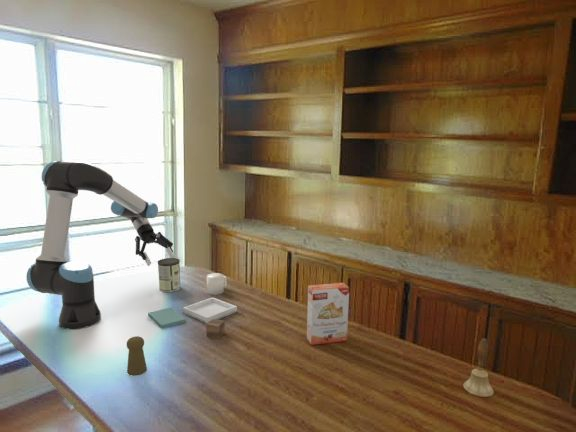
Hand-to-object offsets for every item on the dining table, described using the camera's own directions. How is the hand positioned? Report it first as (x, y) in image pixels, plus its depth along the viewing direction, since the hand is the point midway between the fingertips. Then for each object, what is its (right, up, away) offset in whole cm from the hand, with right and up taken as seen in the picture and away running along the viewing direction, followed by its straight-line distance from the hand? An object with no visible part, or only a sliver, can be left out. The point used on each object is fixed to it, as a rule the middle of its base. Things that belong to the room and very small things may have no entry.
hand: (161, 261), depth 213 cm
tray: (+29, -18, -31) cm, 46 cm away
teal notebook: (+13, -20, -37) cm, 44 cm away
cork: (+15, -27, -76) cm, 82 cm away
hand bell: (+119, -29, -85) cm, 149 cm away
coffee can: (+4, -13, -2) cm, 14 cm away
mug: (+27, -14, -6) cm, 31 cm away
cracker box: (+77, -23, -55) cm, 97 cm away
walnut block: (+35, -22, -51) cm, 66 cm away
